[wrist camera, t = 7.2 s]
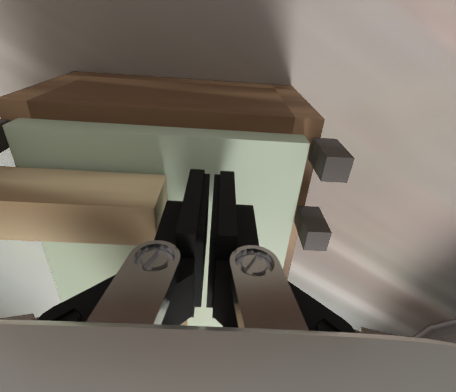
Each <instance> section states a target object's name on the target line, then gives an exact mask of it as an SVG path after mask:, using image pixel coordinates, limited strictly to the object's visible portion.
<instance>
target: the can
mask: <svg viewBox="0 0 456 392" xmlns="http://www.w3.org/2000/svg"><path fill="white" fill-rule="evenodd" d="M413 337H415V338H427V339H433V340H439V341H445V342H451V343H455V344H456V319H452V320H448V321H444V322H441V323H437V324H433V325H429V326H427V327H426V328H425V329H423V330H422V331H420V332H419V333H417V334H416V335H415V336H413Z"/></svg>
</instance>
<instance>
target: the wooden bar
mask: <svg viewBox="0 0 456 392" xmlns="http://www.w3.org/2000/svg"><path fill="white" fill-rule="evenodd" d="M167 201H168V195H167V175H155V174H137V173H118V172H99V171H80V170H62V169H43V168H24V167H6V166H0V240H22V241H45V242H67V243H90V244H113V245H135V246H138V245H140V244H142V243H145V242H147V241H154V239H155V236H156V232H157V229H158V226H159V223H160V220H161V217H162V214H163V211H164V208H165V205H166V202H167Z"/></svg>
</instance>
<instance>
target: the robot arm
mask: <svg viewBox="0 0 456 392" xmlns="http://www.w3.org/2000/svg"><path fill="white" fill-rule="evenodd" d="M209 186H210V174H206V173H205V170H202V169H190V173H189V177H188V181H187V185H186V190H185V194H184V198H183V201H170V200H168V201H167V202H166V205H165V208H164V211H163V214H162V217H161V220H160V223H159V226H158V229H157V232H156V236H155V239H154V241H147V242H145V243H142V244H140V245H138V246H137V247H135V248H134V249H133V250H132V251H131V252H130V254H129V255H128V257H127V258H126V260H125V261H124V263H123V265H122V266H121V268H120V269H119V271H118V272H117V274H116V275H114V276H112V277H110V278H108V279H106V280H104V281H102V282H100V283H98V284H96V285H94V286H93V287H91V288H89V289H87V290H85V291H83V292H81V293H79V294H77V295H75V296H73V297H71V298H69V299H68V300H66V301H64V302H62V303H60V304H58V305H56V306H54V307H52V308H51V309H49V310H48V311H46V312H45V313H43V314H42V315H41V316H40V317H37V318H35V317H34V314H27V315H20V316H13V317H7V318H0V392H456V344H455V343H451V342H445V341H439V340H433V339H427V338H415V337H405V336H397V335H392V334H388V333H384V332H380V331H376V330H372V329H368V328H364V327H360V329H359V331H358V330H354V329H353V328H352V326H351V325H350V324H348V323H347V322H346V321H345V320H344V319H342V318H341V317H340V316H338V315H337V314H335V313H334V312H332V311H331V310H329V309H328V308H326V307H325V306H324V305H322V304H321V303H319V302H318V301H316V300H315V299H313V298H312V297H310V296H309V295H308V294H306V293H305V292H303V291H302V290H300V289H299V288H297V287H296V286H294V285H293V284H292V283H290V282H289V281H288V280H287V278H286V276H285V273H284V271H283V269H282V266H281V264H280V262H279V260H278V258H277V257H276V255H275V254H274V253H273V252H271V251H270V250H268V249H266V248H264V247H261V246H259V241H258V234H257V227H256V221H255V214H254V208H253V205H240V204H236V193H235V175H234V171H220V174H214V188H213V202H212V216H211V230H210V247H209V266H208V285H207V303H206V308H213V313H212V318H215V319H216V320H217V321H218V322H219V323H220V324H221V325H222V326H223V327H211V326H186V325H181V324H182V323H183V322H185V321H186V320H187V319H189V318H190V317H194V310H195V307H201V303H202V291H203V279H204V267H205V255H206V244H207V229H208V208H209Z"/></svg>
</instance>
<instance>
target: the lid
mask: <svg viewBox="0 0 456 392" xmlns="http://www.w3.org/2000/svg"><path fill="white" fill-rule="evenodd" d="M2 126H3V129H4V132H5V135H6V138H7V141H8V144H9V147H10V150H11V153H12V156H13V159H14V162H15V165H16V167H24V168H43V169H62V170H80V171H99V172H118V173H137V174H155V175H167V195H168V200H170V201H183V198H184V194H185V190H186V185H187V181H188V177H189V173H190V169H202V170H205V173H206V174H210V186H209V208H208V229H207V244H206V255H205V267H204V279H203V291H202V303H201V307H195V310H194V317H190V318H189V319H187V320H186V321H185V322H183V323H182V324H181V325H186V326H211V327H223V326H222V325H221V324H220V323H219V322H218V321H217V320H216V319H215V318H212V313H213V308H206V303H207V285H208V266H209V247H210V230H211V216H212V202H213V188H214V174H220V171H234V175H235V193H236V204H240V205H253V208H254V214H255V221H256V227H257V234H258V241H259V246H261V247H264V248H266V249H268V250H270V251H271V252H273V253H274V254H275V255H276V257H277V258H278V260H279V262H280V264H281V266H282V269H283V266H284V261H285V257H286V252H287V248H288V243H289V238H290V234H291V229H292V225H293V220H294V215H295V211H296V206H297V201H298V197H299V192H300V188H301V183H302V178H303V174H304V169H305V164H306V160H307V155H308V151H309V146H310V143H309V141H308V140H307V138H306V137H305V135H299V134H282V133H265V132H248V131H232V130H215V129H198V128H181V127H165V126H148V125H131V124H115V123H98V122H81V121H64V120H48V119H31V118H17V119H15V120H13V121H11V122H8V123H6V124H4V125H2ZM41 243H42V246H43V249H44V252H45V255H46V258H47V261H48V264H49V267H50V270H51V273H52V276H53V279H54V282H55V285H56V288H57V291H58V294H59V297H60V300H61V303H62V302H64V301H66V300H68V299H69V298H71V297H73V296H75V295H77V294H79V293H81V292H83V291H85V290H87V289H89V288H91V287H93V286H94V285H96V284H98V283H100V282H102V281H104V280H106V279H108V278H110V277H112V276H114V275H116V274H117V272H118V271H119V269H120V268H121V266H122V265H123V263H124V261H125V260H126V258H127V257H128V255H129V254H130V252H131V251H132V250H133V249H134V248H135V247H137V246H135V245H113V244H90V243H67V242H45V241H41Z"/></svg>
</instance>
